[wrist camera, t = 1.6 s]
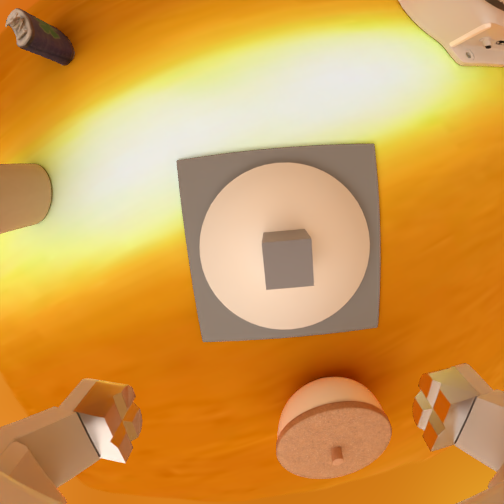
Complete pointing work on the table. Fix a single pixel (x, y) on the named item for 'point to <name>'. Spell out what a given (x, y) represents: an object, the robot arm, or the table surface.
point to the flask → (40, 37)
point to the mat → (234, 164)
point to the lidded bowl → (331, 429)
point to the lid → (284, 245)
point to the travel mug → (23, 195)
